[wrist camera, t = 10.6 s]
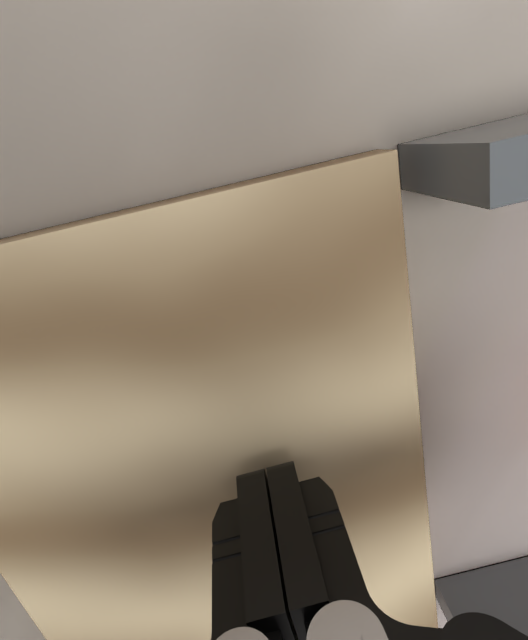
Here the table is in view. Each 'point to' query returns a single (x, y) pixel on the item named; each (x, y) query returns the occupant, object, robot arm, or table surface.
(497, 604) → the box
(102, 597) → the beige wooden board
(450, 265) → the table surface
